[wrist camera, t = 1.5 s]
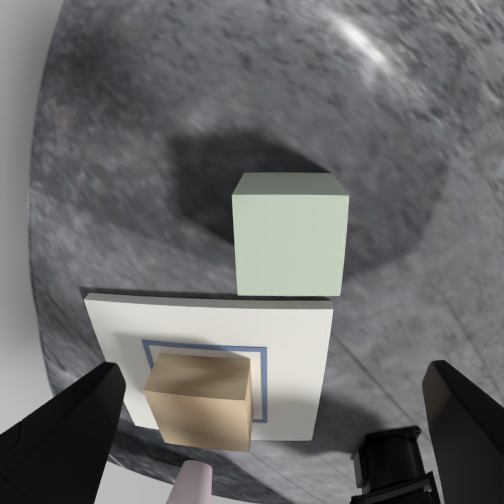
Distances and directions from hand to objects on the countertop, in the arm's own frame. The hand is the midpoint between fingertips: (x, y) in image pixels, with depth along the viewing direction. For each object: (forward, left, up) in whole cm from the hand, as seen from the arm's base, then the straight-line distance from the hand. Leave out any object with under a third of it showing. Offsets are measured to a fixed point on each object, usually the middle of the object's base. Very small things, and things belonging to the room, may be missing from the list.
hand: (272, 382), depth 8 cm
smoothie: (+9, +31, -13) cm, 35 cm away
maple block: (+5, +13, -11) cm, 18 cm away
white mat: (+5, +13, -12) cm, 19 cm away
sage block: (-1, -1, -12) cm, 12 cm away
